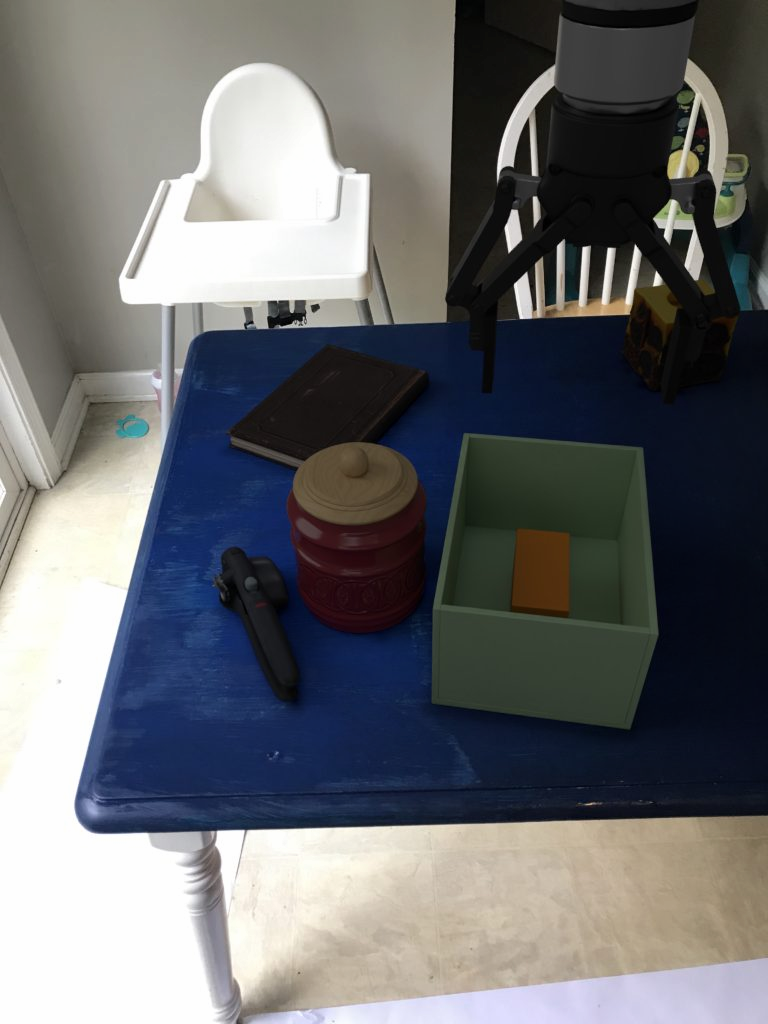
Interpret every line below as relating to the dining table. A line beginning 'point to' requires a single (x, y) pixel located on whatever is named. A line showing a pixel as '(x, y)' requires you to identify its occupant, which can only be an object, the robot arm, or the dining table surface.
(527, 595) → the block
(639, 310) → the cube with round hole
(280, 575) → the can opener
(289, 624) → the dining table surface
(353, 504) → the kitchen canister
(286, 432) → the hardcover book
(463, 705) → the bin
